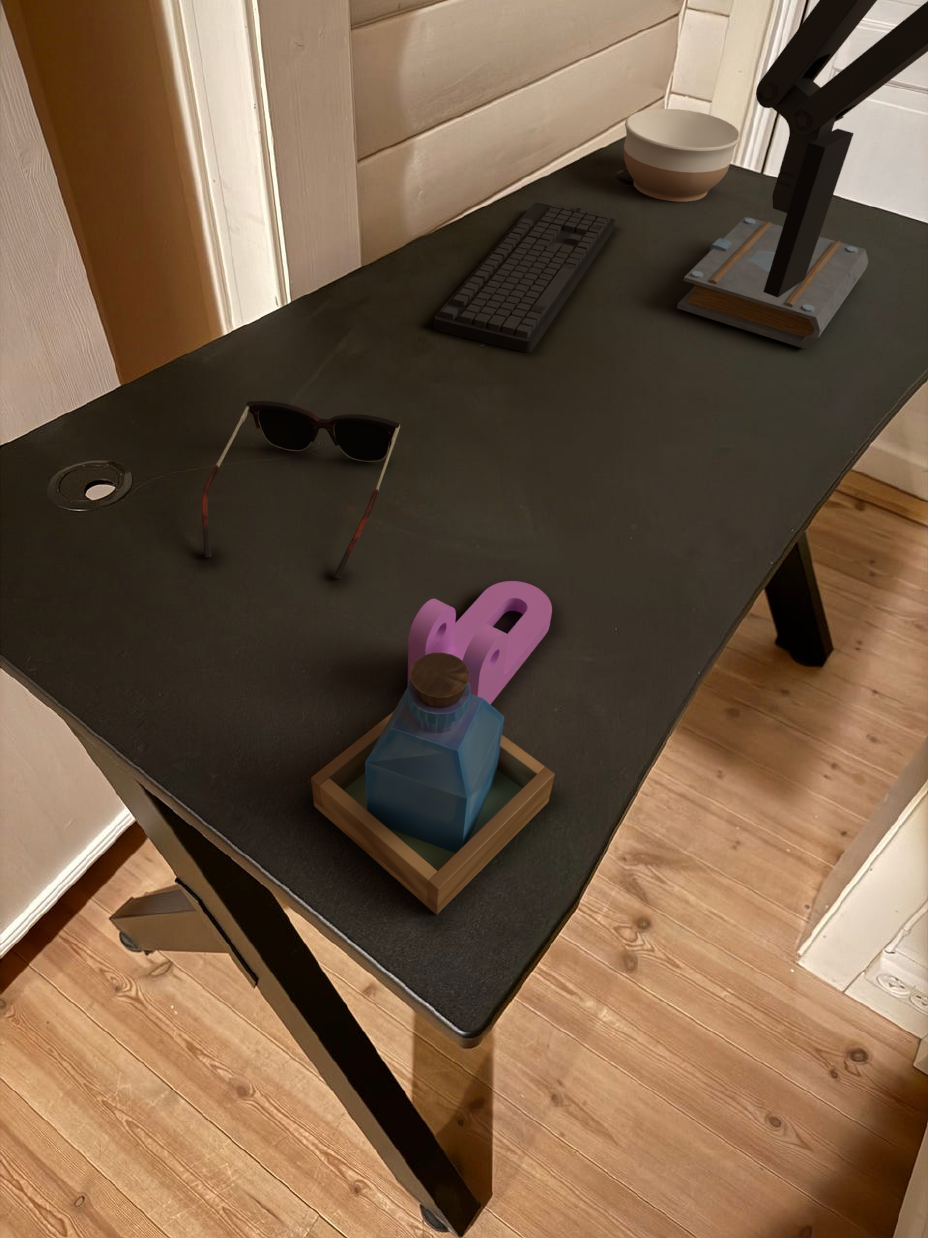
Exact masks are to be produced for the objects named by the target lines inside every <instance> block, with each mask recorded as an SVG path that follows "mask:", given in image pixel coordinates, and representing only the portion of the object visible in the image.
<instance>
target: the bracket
mask: <svg viewBox="0 0 928 1238" xmlns="http://www.w3.org/2000/svg"><path fill="white" fill-rule="evenodd" d="M508 612H517V613H519V614H521V617H520V618H519V620H518V621H517V622H516V623H515V625H514V626H512V628H511V629H510V630H509V631H508V633H506V632H504V631H502V630H500V629H498V628H496V627H494V626H495V625H496V624H497V622H498V621H499V620H500V619H501V618H502V616H504V614H506V613H508ZM552 613H553V606H552V602H551V600H550V598H549V596H548V595H547V594H546V593H545V592H544V591H543V590H541V589H540V588H539V587H537V586H535V585H533V584H530V583H527V582H524V581H518V580H517V581H516V580H508V581H500V582H497V583H495V584H492V585H491V586H489V587H487V588H486V589H484V591H483V592H482V593H481V594H480V595H479V596H478V598H476V600H475V601H474V602H473V603H472V604H471V605H470V607H468V609H467V610H466V611H465V612H464V613H463V614H462V615H461V616H460V618H458V620H456V619H457V618H456V617H457V612H456V609H455V608H454V607H453V606H451V605H449V604H447V603H445V602H443V601H440V600H439V599H437V598H431V599H429V600H428V601H426V602H425V603H424V604H423V605H422V606H421V608H419V610H418V612H417V613H416V615H415V617H414V619H413V620H412V624H411V626H410V629H409V632H408V637H407V685H408V684H409V681H410V679H411V673H410V672H411V669H412V666H413V665H414V663H415V662H416V661H417V660H418V659H419V658H421V657H423V656H424V655H427V654H431V653H440V652H442V653H448V654H452V655H454V656H456V657H458V658H459V659H461V660H462V661H463V662H464V663H465V664H466V666H467V668H468V670H469V680H468V682H469V683H470V689H471V694H472V695H475V696H478V697H481V698H484V699H485V700H486V701H487V702H488V703H489V704H490V705H492V703H493V702H494V701H495V700H496V698H497V697H499V695H500V693H501V692H502V691H503V689H504V688H505V687H506V686H507V684H508V683H509V682H510V680H511V679H512V678H513V677H514V676H515V674H516V673H517V672H518V670H519V669H520V668H521V666H523V664H524V663H525V662H526V660H527V659H528V658H529V657H530V655H531V654H532V653H533V652H534V651H535V649H536V648H537V646H539V643H540V642H541V641H542V640H543V639H544V637H545V636H546V635H547V633H548V632H549V629H550V627H551V619H552Z"/></svg>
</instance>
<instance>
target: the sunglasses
mask: <svg viewBox="0 0 928 1238" xmlns="http://www.w3.org/2000/svg"><path fill="white" fill-rule="evenodd" d="M245 404H246V406H245V408H244V410H243V412H242V414H241V416H240V417H239V418H240V419H239V421H238V423H237V425H236V427H235V428H234V431H233V432H232V435H231V436H230V437H229V438H230V439H229V440H228V442H227V444H226V446H225V447H224V450H223V451H222V454H221V455H220V456H219V458H218V460H217V462H216V464H215V465H214V467H213V469H212V471H211V473H210V475H209V477H208V479H207V481H206V483H205V485H204V488H203V492H202V497H201V522H202V537H203V539H202V540H203V553H204V558H205V559H210V558H212V557H213V554H212V548H211V542H210V534H209V533H210V531H209V517H208V500H209V496H210V495H209V494H210V490H211V489H212V485H213V483H214V482H215V480H216V477H217V475H218V474H219V471H220V466H221V465H222V463H223V461H224V458H225V456H226V454H227V453H228V451H229V449H230V447H231V445H232V443H233V441H234V439H235V437H236V436H237V433H238V431H239V429H240V427H241V425H242V424H243V423H245V420H246V418H247V417H248V415H249V413H250V414H251V415H252V417H253V421H254V423H255V426H256V429H258V430H261V432H262V434H263V436H264V438H265V440H266V441H267V442H268V443H269V444H270V445H272V446H274V447H277V448H279V449H282V450H286V451H291V452H303V451H305V450H307V449H308V448H309V447H310V445H311V444H312V443H314V442H315V440H316V438H317V436H318V434H319V431H320V429H324V430H326V432H327V433H328V435H329V437H330V439H331V441H332V442H333V444H334V446H336V447H339V449H340V451H342V453H343V454H344V455H346V457H348V458H350V459H352V460H354V461H359V462H364V463H373V462H381V461H383V460H384V459H385V462H384V464H383V467H382V470H381V471H380V472H381V473H380V476H379V478H378V481H377V484H376V487H375V489H373V490H372V494H371V496H370V499H369V502H368V505H367V507H366V510H365V512H364V514H363V515H362V517H361V520H360V521H359V524H358V526H357V527H356V530H355V532H354V534H353V537H352V538H351V540H350V542H349V544H348V546H347V548H346V550H345V552H344V554H343V556H342V558H341V560H340V562H339V564H338V566H337V568H336V571H335V573H334V574H333V577H334V578H335V579H337V580H341V578H342V576H343V573H344V571H345V568H346V565H347V563H348V561H349V558H350V556H351V555H352V553H353V551H354V548H355V547H356V544H357V542H358V541H359V539H360V536H361V534H362V532H363V530H364V528H365V525H366V523H367V522H368V520H369V518H370V515H371V513H372V511H373V509H374V506H375V504H376V500H377V497H378V494H379V490H380V487H381V485H382V481H383V479H384V475H385V472H386V469H387V466H388V463H389V461H390V458H391V455H392V452H393V450H394V447H395V444H396V441H397V437H398V434H399V433H400V430H401V423H399V422H398V421H393V420H390V419H387V418H384V417H380V416H375V415H369V414H361V413H348V414H347V413H346V414H338V415H334V416H332V417H330V418H321V417H319V416H317V415H316V414H315V413H314V412H312V411H309V410H307V409H304V408H302V407H300V406H297V405H293V404H290V403H285V402H280V401H271V400H270V401H268V400H250V401H249V400H248V401H247V403H245Z"/></svg>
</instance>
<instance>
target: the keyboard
mask: <svg viewBox="0 0 928 1238" xmlns="http://www.w3.org/2000/svg"><path fill="white" fill-rule="evenodd" d="M611 216H612V215H611V214H609V213H604V212H600V211H595V210H588V209H585V208H581V207H576V206H571V205H564V204H562V203H558V202H557V203H556V202H554V203H553V204H552V205H549V204H545V203H540V202H534V203H533V204H532V205H530V207H529V208H528V209H527V210H526V211H525V213H524V214H523V215H522V216H521V217H520V218H519V220H517V222H516V223H515V224H514V225H513V226H512V227H511V228H510V230H509V231H508V232H507V233H506V234H505V235H504V237H503V238H502V239H501V240H500V241H499V242H498V243H497V244H496V246H495V247H494V248H493V249H492V250H491V251H490V252H489V253H488V255H487V256H486V257H485V258H484V259H483V260H482V261H481V262H480V264H479V265H478V266H477V267H476V268H475V270H474V271H473V272H472V273H471V274H470V276H468V277H467V279H465V281H464V282H463V283H462V284H461V285H460V287H458V289H457V290H456V291H455V292H454V293H453V295H452V296H451V297H450V298H449V299H448V300H447V302H446V303H445V304H444V305H443V306H442V307H441V308H440V309H439V310H438V312H437V313H436V314H435V315H434V331H437V332H441V333H444V334H448V335H453V336H457V337H461V338H464V339H469V340H472V341H477V342H481V343H485V344H488V345H493V346H496V347H501V348H505V349H509V350H513V351H517V352H520V353H525V354H526V353H527V354H530V353H532V352H533V351H534V349H535V348H536V346H537V344H538V343H539V342H540V340H541V339H542V338H543V335H544V334H545V333H546V331H547V330H548V328H549V327H550V325H552V323H553V321H554V319H555V318H556V317H557V316H558V313H559V312H560V311H561V309H562V308H563V306H564V305H565V303H566V302H567V300H569V298H570V296H571V294H572V293H573V292H574V290H575V289H576V287H577V286H578V284H579V282H580V281H581V280H582V278H583V276H584V275H585V273H586V272H587V271H588V269H589V268H590V266H591V265H592V263H593V262H594V261H595V259H596V258H597V256H598V254H599V253H600V252H601V250H602V249H603V247H604V246H605V245H606V242H607V241H608V239H609V238H610V237H611V236H612V233H613V232H614V228H615V223H616V220H615V219H614V218H612V217H611Z"/></svg>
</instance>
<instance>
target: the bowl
mask: <svg viewBox="0 0 928 1238" xmlns="http://www.w3.org/2000/svg"><path fill="white" fill-rule="evenodd" d="M624 126H625V132H626V133H625V134H626V135H625V140H624V143H623V160H624V163H625V167H626V170H627V172H628V173H629V175H630V177H631V178H632V180H633V186H634V188H635V189H636V190H637V191H639V192H640V193H642V194H643V195H646V196H648V197H651V198H653V199H657V200H662V201H667V202H668V201H669V202H676V203H677V202H679V203H682V202H694V201H699V200H701V199H703V198H705V197H706V196H707V194H708V193H709V191H710V190H711V189H712V188H714V187H715V186H716V185H718V184H719V183H720V182H721V180H723V178H724V177H725V176H726V174H727V173H728V171H729V168H730V165H731V163H732V161H733V158H734V153H735V148H736V146H737V145H738V144H739V142H740V140H741V133H740V131H739V129H738V128H737V127H736V126H735V125H733V124H732V123H730V122H729V121H727V120H725V119H722V118H720V117H717V116H715V115H712V114H707V113H704V112H699V111H693V110H689V109H680V108H654V109H652V108H651V109H645V110H640V111H637V112H635V113H632V114H630V115H629V116H628V117H627V118H626V120H625V122H624Z"/></svg>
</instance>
